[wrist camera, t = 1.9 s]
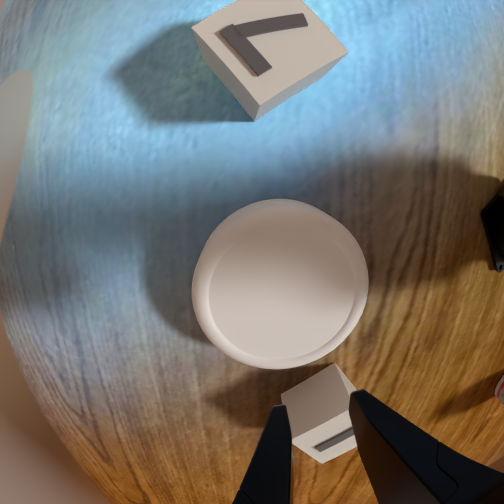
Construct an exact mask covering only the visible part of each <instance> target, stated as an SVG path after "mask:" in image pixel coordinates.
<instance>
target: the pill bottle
mask: <svg viewBox="0 0 504 504" xmlns="http://www.w3.org/2000/svg"><path fill="white" fill-rule="evenodd" d="M495 396H496V397H497V398H498V399H499V400H500V401H501V403H502V404H503V405H504V375H503V376H502V377H501V379H500V380H499V382H498V384H497V386H496V388H495Z"/></svg>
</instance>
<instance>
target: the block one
mask: <svg viewBox="0 0 504 504" xmlns="http://www.w3.org/2000/svg"><path fill="white" fill-rule="evenodd" d="M353 391H356V389H355V387H354V386H353V385H352V384H351V382H350V381H349V380H348V378H347V377H346V376H345V375H344V373H343V372H342V371H341V370H340V368H339V367H338V366H337V365H336V363H335V362H334V363H333V364H331V365H330V366H328V367H326V368H325V369H323V370H321V371H320V372H318V373H317V374H315V375H313V376H312V377H310V378H308V379H306V380H305V381H303V382H301V383H300V384H298V385H296V386H294V387H293V388H291V389H289V390H287V391H285V392H284V393H282V394H281V399H282V404H285V405H286V407H287V412H288V417H289V422H290V427H291V432H292V443H293V444H294V445H295V446H297V447H298V448H300V449H301V450H302V451H304V452H305V453H307V454H308V455H310V456H311V457H313V458H314V459H316V460H317V461H319V462H320V463H324V462H327V461H329V460H331V459H333V458H335V457H337V456H339V455H341V454H343V453H345V452H347V451H349V450H351V449H353V448H355V447H357V444H356V440H355V436H354V432H353V428H352V424H351V420H350V416H349V401H350V394H351V392H353Z"/></svg>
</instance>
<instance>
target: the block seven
mask: <svg viewBox="0 0 504 504" xmlns="http://www.w3.org/2000/svg"><path fill="white" fill-rule="evenodd" d="M191 28H192V31H193V34H194V36H195V39H196V42H197V44H198V47H199V50H200V53H201V55H202V58H203V61H204V62H205V63H206V64H207V65H208V67H209V68H210V69H211V70H212V71H213V72H214V74H215V75H216V76H217V77H218V78H219V79H220V80H221V82H222V83H223V84H224V85H225V86H226V88H227V89H228V90H229V91H230V92H231V94H232V95H233V96H234V97H235V98H236V100H237V101H238V102H239V103H240V105H241V106H242V107H243V108H244V109H245V111H246V112H247V113H248V114H249V116H250V117H251V118H252V119H253V121H254V122H255V121H256V120H258V119H259V118H261V117H262V116H264V115H265V114H267V113H268V112H270V111H271V110H272V109H274V108H275V107H277V106H279V105H280V104H282V103H283V102H285V101H286V100H288V99H289V98H291V97H292V96H294V95H296V94H297V93H299V92H300V91H302V90H303V89H305V88H307V87H308V86H310V85H312V84H313V83H315V82H317V81H318V80H320V79H321V78H322V77H323V76H324V75H325V74H327V73H328V72H329V71H330V70H331V69H332V68H333V67H334V66H335V65H336V64H337V63H338V62H339V61H340V60H341V59H342V58H343V57H344V56H345V55H346V54H347V53H348V51H347V50H346V49H345V47H344V46H343V45H342V44H341V42H340V41H339V40H338V39H337V38H336V37H335V35H334V34H333V33H332V32H331V31H330V30H329V28H328V27H327V26H326V25H325V24H324V23H323V22H322V21H321V20H320V19H319V17H318V16H317V15H316V14H315V13H314V12H313V11H312V10H311V9H310V8H309V7H308V6H307V5H306V4H305V3H304V2H303V1H302V0H237V1H235V2H233V3H232V4H230V5H228V6H226V7H224V8H222V9H221V10H219V11H217V12H215V13H214V14H212V15H210V16H209V17H207V18H205V19H204V20H202V21H200V22H199V23H197V24H196V25H194V26H192V27H191Z"/></svg>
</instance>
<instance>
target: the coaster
mask: <svg viewBox="0 0 504 504" xmlns="http://www.w3.org/2000/svg"><path fill="white" fill-rule="evenodd" d="M368 285H369V279H368V270H367V265H366V261H365V258H364V255H363V252H362V250H361V248H360V246H359V244H358V243H357V241H356V239H355V238H354V237H353V235H352V234H351V233H350V232H349V231H348V230H347V229H346V228H345V227H344V226H343V225H342V224H341V223H340V222H338V221H337V220H335V219H334V218H333V217H331V216H329V215H328V214H326V213H324V212H323V211H321V210H319V209H318V208H316V207H314V206H312V205H309V204H307V203H304V202H300V201H296V200H290V199H269V200H263V201H258V202H255V203H252V204H249V205H247V206H245V207H243V208H241V209H238V210H237V211H235V212H234V213H232V214H231V215H229V216H228V217H227V218H226V219H224V220H223V221H222V222H221V223H220V224H219V225H218V226H217V227H216V229H215V230H214V231H213V232H212V234H211V235H210V237H209V238H208V240H207V241H206V243H205V246H204V248H203V250H202V252H201V255H200V257H199V260H198V262H197V264H196V267H195V271H194V274H193V280H192V302H193V308H194V312H195V315H196V317H197V320H198V323H199V325H200V327H201V329H202V330H203V332H204V333H205V335H206V336H207V338H208V339H209V340H210V341H211V342H212V343H213V344H214V346H215V347H217V348H218V349H219V350H220V351H221V352H223V353H224V354H226V355H227V356H229V357H231V358H232V359H235V360H237V361H239V362H241V363H244V364H246V365H249V366H254V367H258V368H265V369H286V368H293V367H298V366H301V365H304V364H308V363H310V362H312V361H315V360H317V359H319V358H321V357H323V356H324V355H326V354H328V353H329V352H331V351H332V350H333V349H335V348H336V347H337V346H338V345H339V344H340V343H342V342H343V341H344V340H345V338H346V337H347V336H348V335H349V334H350V333H351V331H352V330H353V328H354V327H355V325H356V324H357V322H358V320H359V319H360V317H361V315H362V312H363V310H364V307H365V304H366V300H367V295H368Z"/></svg>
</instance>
